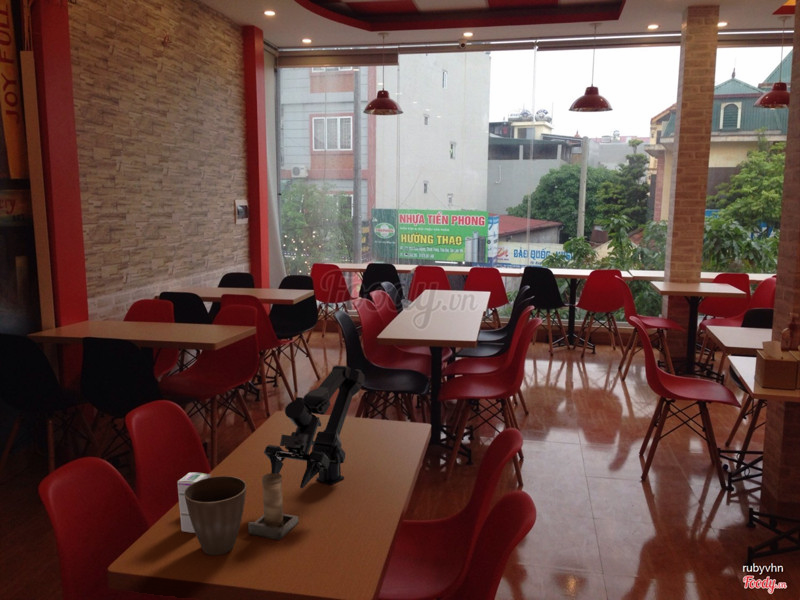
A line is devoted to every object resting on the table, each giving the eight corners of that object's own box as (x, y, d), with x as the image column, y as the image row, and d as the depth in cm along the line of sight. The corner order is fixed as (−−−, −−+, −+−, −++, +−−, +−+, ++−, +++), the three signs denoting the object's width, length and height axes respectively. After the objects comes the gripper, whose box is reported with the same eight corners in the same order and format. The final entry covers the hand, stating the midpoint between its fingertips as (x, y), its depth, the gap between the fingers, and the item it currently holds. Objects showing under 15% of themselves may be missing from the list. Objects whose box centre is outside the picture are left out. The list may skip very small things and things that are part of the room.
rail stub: (281, 520, 172) (279, 471, 170) (285, 528, 167) (283, 479, 165) (262, 524, 170) (260, 475, 168) (266, 532, 165) (264, 482, 163)
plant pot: (259, 536, 164) (256, 478, 162) (231, 567, 150) (228, 504, 148) (207, 530, 168) (204, 473, 166) (176, 560, 153) (171, 499, 151)
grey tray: (268, 517, 174) (268, 507, 174) (298, 523, 171) (297, 512, 171) (248, 534, 166) (248, 523, 165) (279, 540, 162) (279, 529, 162)
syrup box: (200, 533, 166) (197, 481, 164) (180, 531, 167) (176, 480, 165) (211, 523, 172) (208, 473, 170) (191, 521, 173) (188, 471, 171)
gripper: (265, 418, 179) (245, 469, 171) (323, 425, 173) (305, 479, 164) (281, 434, 188) (262, 484, 179) (337, 442, 181) (320, 494, 173)
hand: (286, 485), depth 174 cm, fingers open, 9 cm apart
